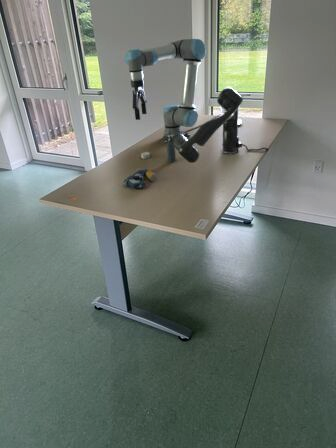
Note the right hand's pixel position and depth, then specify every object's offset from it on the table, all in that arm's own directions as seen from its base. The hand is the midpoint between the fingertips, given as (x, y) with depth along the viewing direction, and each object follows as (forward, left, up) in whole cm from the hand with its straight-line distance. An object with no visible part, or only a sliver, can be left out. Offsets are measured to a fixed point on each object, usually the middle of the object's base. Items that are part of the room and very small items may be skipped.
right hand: (173, 134), depth 190 cm
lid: (+14, -24, -18) cm, 33 cm away
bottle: (0, -11, -19) cm, 22 cm away
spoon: (-60, -60, -19) cm, 87 cm away
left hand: (+14, -24, +6) cm, 29 cm away
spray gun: (+23, +14, -19) cm, 33 cm away
